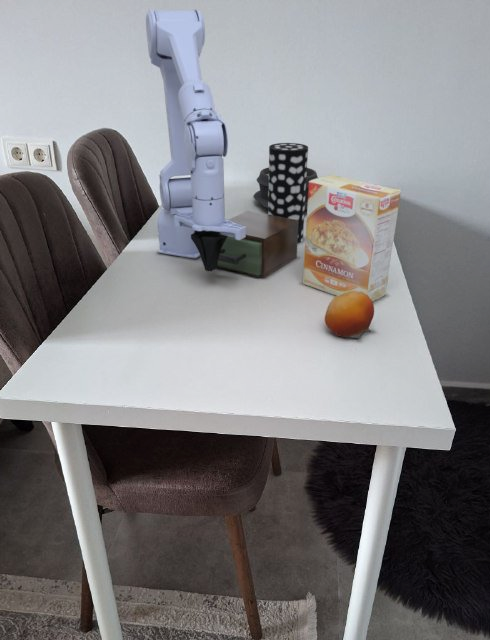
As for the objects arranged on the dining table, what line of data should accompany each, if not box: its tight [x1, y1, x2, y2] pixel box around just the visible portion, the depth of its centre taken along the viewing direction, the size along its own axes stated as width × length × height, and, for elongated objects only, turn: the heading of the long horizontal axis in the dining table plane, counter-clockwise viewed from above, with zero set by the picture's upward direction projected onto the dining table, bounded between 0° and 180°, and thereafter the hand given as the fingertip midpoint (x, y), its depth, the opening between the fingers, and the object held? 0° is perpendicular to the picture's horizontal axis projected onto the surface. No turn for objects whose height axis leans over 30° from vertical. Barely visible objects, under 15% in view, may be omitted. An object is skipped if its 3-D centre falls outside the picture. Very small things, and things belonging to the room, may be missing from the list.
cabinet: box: [217, 210, 299, 279], centre depth 119 cm, size 14×13×8 cm
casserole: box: [253, 166, 319, 211], centre depth 154 cm, size 25×19×8 cm
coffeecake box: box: [302, 174, 402, 303], centre depth 104 cm, size 15×7×20 cm, turn 46°
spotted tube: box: [267, 142, 309, 244], centre depth 127 cm, size 8×8×20 cm
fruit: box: [324, 291, 375, 340], centre depth 94 cm, size 8×8×8 cm
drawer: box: [217, 236, 262, 276], centre depth 116 cm, size 17×11×6 cm
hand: (210, 269), depth 108 cm, fingers closed
